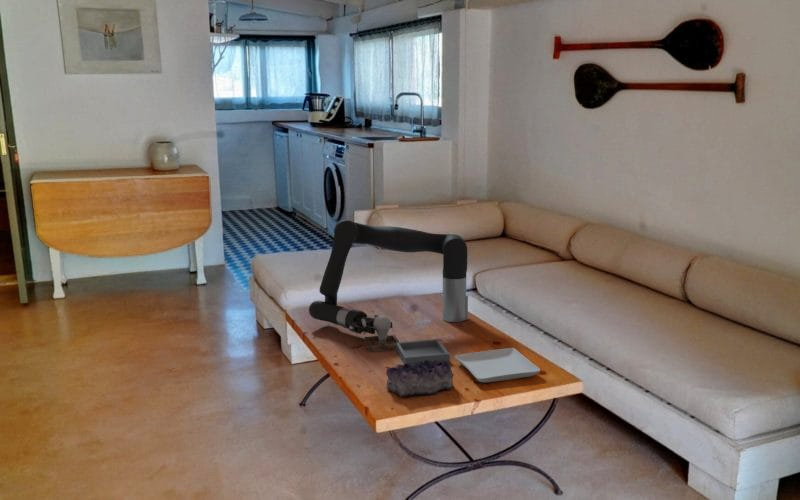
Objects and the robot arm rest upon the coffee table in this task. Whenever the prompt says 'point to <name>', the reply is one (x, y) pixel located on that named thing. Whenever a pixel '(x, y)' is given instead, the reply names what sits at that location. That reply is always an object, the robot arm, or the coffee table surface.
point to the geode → (419, 378)
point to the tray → (422, 351)
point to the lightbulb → (382, 328)
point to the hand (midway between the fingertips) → (383, 328)
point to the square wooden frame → (381, 347)
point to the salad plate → (498, 365)
